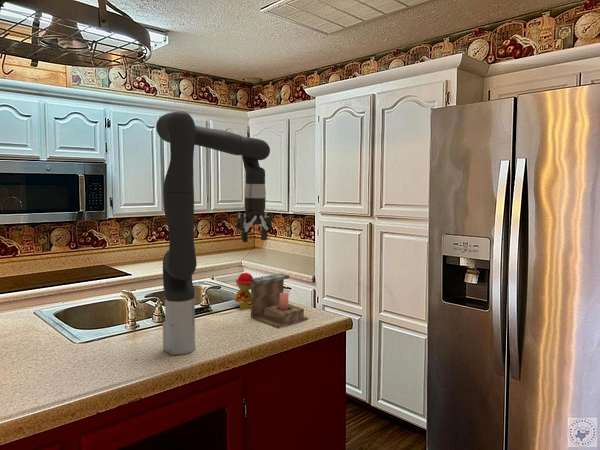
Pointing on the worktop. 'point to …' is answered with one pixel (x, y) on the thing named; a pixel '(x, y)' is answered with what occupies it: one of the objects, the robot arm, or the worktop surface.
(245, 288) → the toy
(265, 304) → the socket station
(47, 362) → the worktop surface
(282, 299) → the peg
